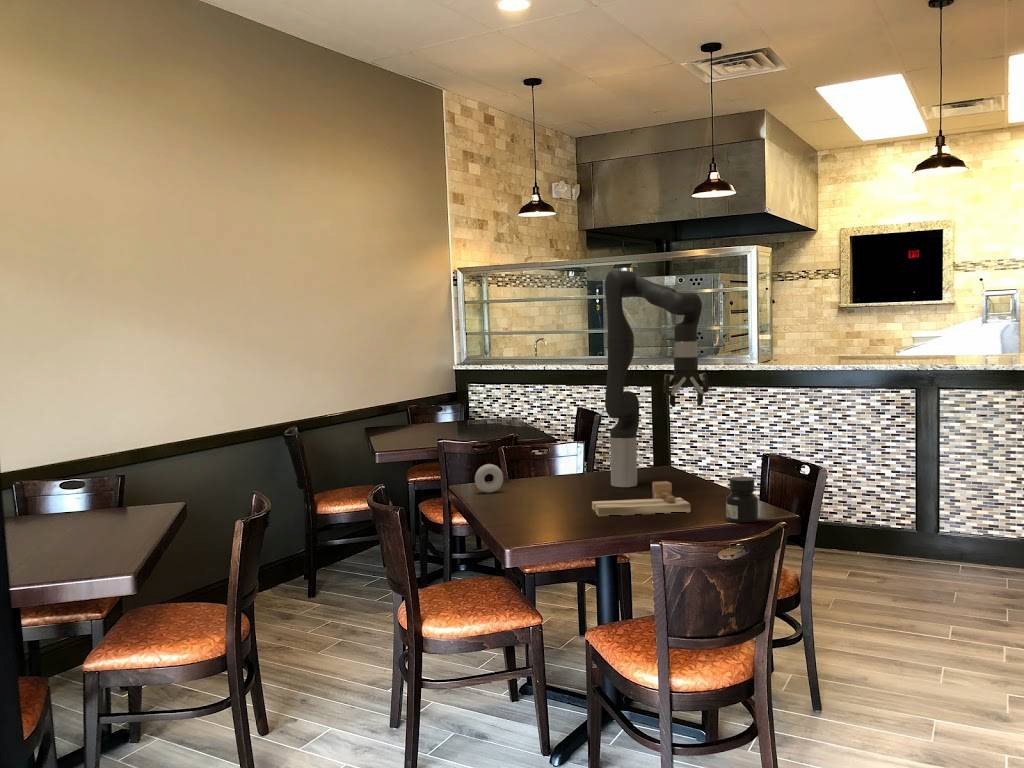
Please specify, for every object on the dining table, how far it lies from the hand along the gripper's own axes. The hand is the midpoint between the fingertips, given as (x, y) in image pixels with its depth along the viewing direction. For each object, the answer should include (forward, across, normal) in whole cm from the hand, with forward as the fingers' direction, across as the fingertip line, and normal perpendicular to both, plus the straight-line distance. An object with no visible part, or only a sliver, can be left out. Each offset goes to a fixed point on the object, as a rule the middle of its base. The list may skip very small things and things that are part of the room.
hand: (686, 406), depth 274 cm
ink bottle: (+30, -6, +32) cm, 44 cm away
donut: (+30, +62, -25) cm, 73 cm away
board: (+30, +19, +14) cm, 38 cm away
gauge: (+30, +10, +10) cm, 33 cm away
